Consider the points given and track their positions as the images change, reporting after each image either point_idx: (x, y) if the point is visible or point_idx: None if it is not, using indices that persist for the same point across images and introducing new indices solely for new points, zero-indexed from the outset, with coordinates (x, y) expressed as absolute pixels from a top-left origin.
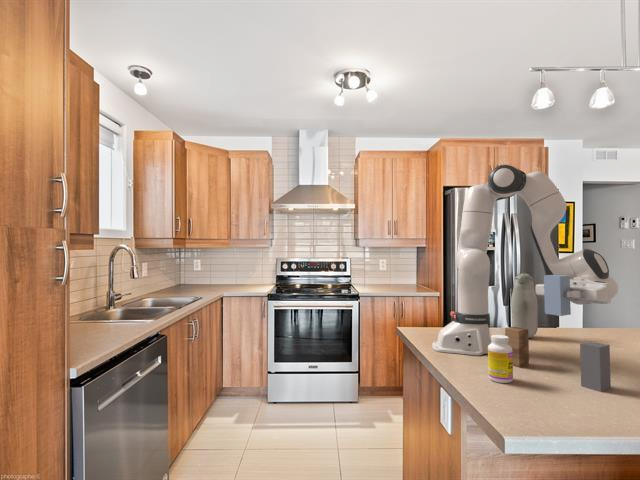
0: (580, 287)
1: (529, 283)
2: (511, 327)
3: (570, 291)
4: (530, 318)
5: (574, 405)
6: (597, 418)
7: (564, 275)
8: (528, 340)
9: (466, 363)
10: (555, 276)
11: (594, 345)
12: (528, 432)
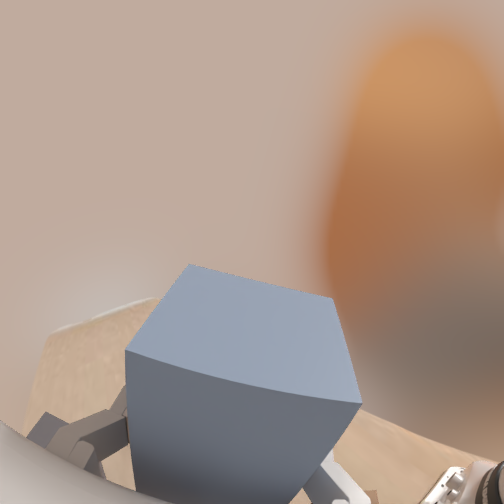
0: (40, 496)
1: None
2: None
3: (116, 398)
4: None
5: (106, 387)
6: (78, 360)
7: (194, 363)
8: None
9: (362, 464)
10: (226, 275)
11: (56, 426)
12: (142, 307)
